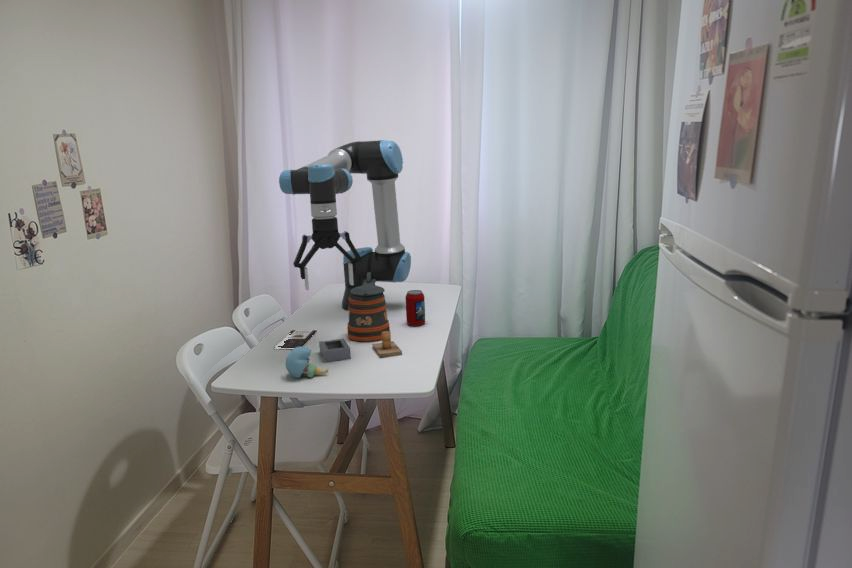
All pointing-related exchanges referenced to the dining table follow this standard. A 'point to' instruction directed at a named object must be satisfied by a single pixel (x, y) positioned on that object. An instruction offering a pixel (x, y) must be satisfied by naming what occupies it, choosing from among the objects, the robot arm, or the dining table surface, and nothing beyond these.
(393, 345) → the keeper
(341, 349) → the grey rectangular frame
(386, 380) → the dining table surface
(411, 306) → the beverage can
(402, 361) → the dining table surface
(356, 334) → the beer stein
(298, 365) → the blue haired figurine
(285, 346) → the chocolate bar
